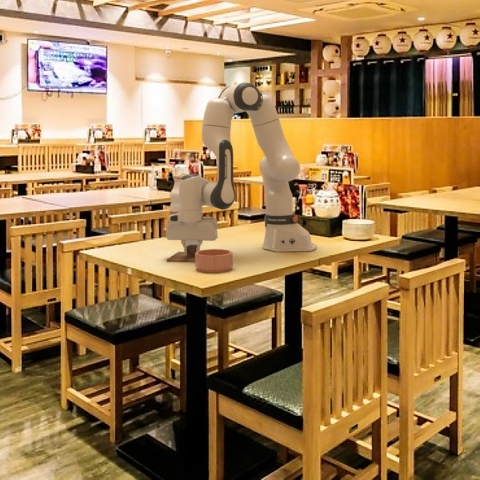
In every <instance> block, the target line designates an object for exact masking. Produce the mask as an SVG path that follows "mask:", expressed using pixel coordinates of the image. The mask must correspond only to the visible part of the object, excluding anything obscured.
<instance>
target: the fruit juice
mask: <svg viewBox="0 0 480 480" xmlns="http://www.w3.org/2000/svg"><path fill="white" fill-rule="evenodd" d="M183 176H184V175H174V176H173V180H174V182H173V183H174V185H173V188H172V189H171V191H170V194H169V199H170V205H169V216H170V215H172V214H175V213H177V212H178V213H179V212H180V210H179V208H180V199H179V183H180V179H181V178H182V177H183Z"/></svg>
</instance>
